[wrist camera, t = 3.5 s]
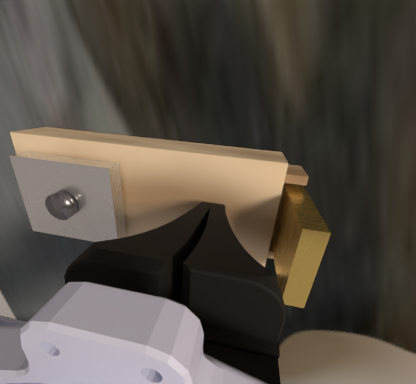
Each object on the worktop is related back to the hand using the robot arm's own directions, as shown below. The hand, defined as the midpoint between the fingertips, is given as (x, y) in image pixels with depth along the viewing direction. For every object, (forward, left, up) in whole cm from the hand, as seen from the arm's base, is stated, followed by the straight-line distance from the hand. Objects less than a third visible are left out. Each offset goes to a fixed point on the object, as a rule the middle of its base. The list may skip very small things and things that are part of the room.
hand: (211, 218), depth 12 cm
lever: (0, -4, -2) cm, 5 cm away
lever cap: (0, +9, 0) cm, 9 cm away
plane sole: (0, +5, -3) cm, 5 cm away
